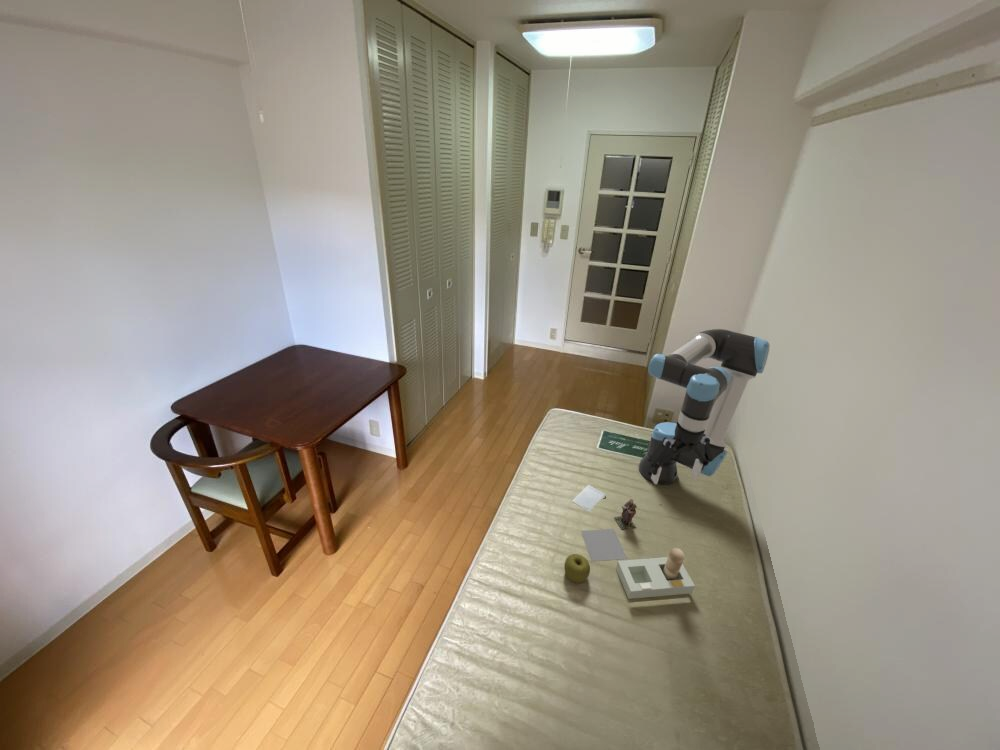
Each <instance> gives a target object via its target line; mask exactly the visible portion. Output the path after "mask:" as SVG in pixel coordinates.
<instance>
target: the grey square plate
mask: <svg viewBox="0 0 1000 750" xmlns="http://www.w3.org/2000/svg"><path fill="white" fill-rule="evenodd" d="M580 533H581V535H582V537H583V538H582V539H583V540H584V544H585V547H586V549H587V552H588V555H589V558H590V560H591V562H600V561H601V562H602V561H604V562H605V561H616V560H618V561H619V560H628V557H627V555H626V553H625V551H624V548H623V546H622V543H621V541H620V539H619V537H618V534H617V532H616V530H615V529H614V528H603V529H601V528H600V529H587V530H580Z"/></svg>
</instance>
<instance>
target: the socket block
mask: <svg viewBox="0 0 1000 750" xmlns="http://www.w3.org/2000/svg"><path fill="white" fill-rule="evenodd" d="M667 559H668V556H665V557H664V556H663V557H654V558H653V557H652V558H651V557H650V558H640V559H639V558H638V559H622V560H618V561H617V564H616V566H615V569H616V572H617V574H618V577H619V580H620V582H621V584H622V586H623V588H624V592H625V594H626V596H627V598H628V599H627V600H629V599H631V600H632V599H642V598H643V599H644V598H651V597H653V598H654V597H665V596H676V595H688V594H689V596H692V594H693V592H694V590H695V587H696V585H695V583H694V582H693V580H692V578H691V577H690V574H689V573H688V570H686V568H685V566H684V564H683V563H682V565H681V568H680V570H679V573H678V575H677V578H676V580H669V581H667V580H666V578H665V576H664V574H663V570H664V567H665V564H666V561H667Z"/></svg>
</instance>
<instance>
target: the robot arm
mask: <svg viewBox="0 0 1000 750" xmlns="http://www.w3.org/2000/svg"><path fill="white" fill-rule="evenodd" d="M769 353H770V343H769V341H768V340H766V339H762V338H759V337H757V336H753V335H752V336H751V335H748V334H745V333H744V334H743V333H740V332H736V331H732V330H728V329H725V328H724V329H723V328H713V329H707V330H702V331H699V332H697V333H694V335H692V336H690V338H689V340H688V342H687V343H685V344H684V345H682V346H681V347H679V348H678V349H676V350H675V351H673V352H671V353H670V354H669V355H666V354H661V353H656V354H654V355H653V357H652V358H651V360H650V362H649V364H648V369H647V371H648V374H649V375H650V376H651V377H655V378H656V379H658V380H661V381H665V382H668V383H670V384H673V385H676V386H679V387H682V388H685V390H686V391H685V394H684V398H683V402H682V406H681V408H680V411H679V415H678V418H677V421H676V422H670V421H665V422H660V423H658V424H656V425H655V426H654V428H653V430H652V432H651V436H650V441H649V444H648V448H647V452H646V453H645V455H644V456H643V458H641V460H640V462H639V464H638V471H639V472H640V474H641V475H642V477H644V478H645V479H646V480H648V481H649V482H651V483H653V484H654V485H671V484H673V483H674V482H675V481H676V479H677V477H678V467H677V463H678V464H680V465H683V466H684V467H686V468H689V469H691V472H690V476H691V477H692V478H693V479H694V480H695V481H699V478H700V475H701V474H702V475H704V476H706V477H712V476H714V474H715V473H716V472H717V470H718V469H719V467H720V466H721V464H722V463H723V462H724V460H725V459H726V456H727V454H728V451H726V450H725V449H726V448H725V447H727V446H726V443H725V441H724V438H725V436H726V433H727V431H728V429H729V427H730V425H731V422H732V420H733V417H734V415H735V413H736V410H737V408H738V406H739V403H740V402H741V398H742V396H743V394H744V392H745V390H746V388H747V385H748V382H749V381H750V380H753V379H755V378H756V376H757V374H762V373H763V372H764V370H765V368H766V365H767V360H768V357H769ZM708 358H709V359H713V360H714V361H715V360H716V361H718V362H721V364H720V366H710V367H707V368H706V367H703V366H699V365H697V364H698V363H699V362H701V361H702V360H703V359H704V360H705V359H708Z"/></svg>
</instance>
